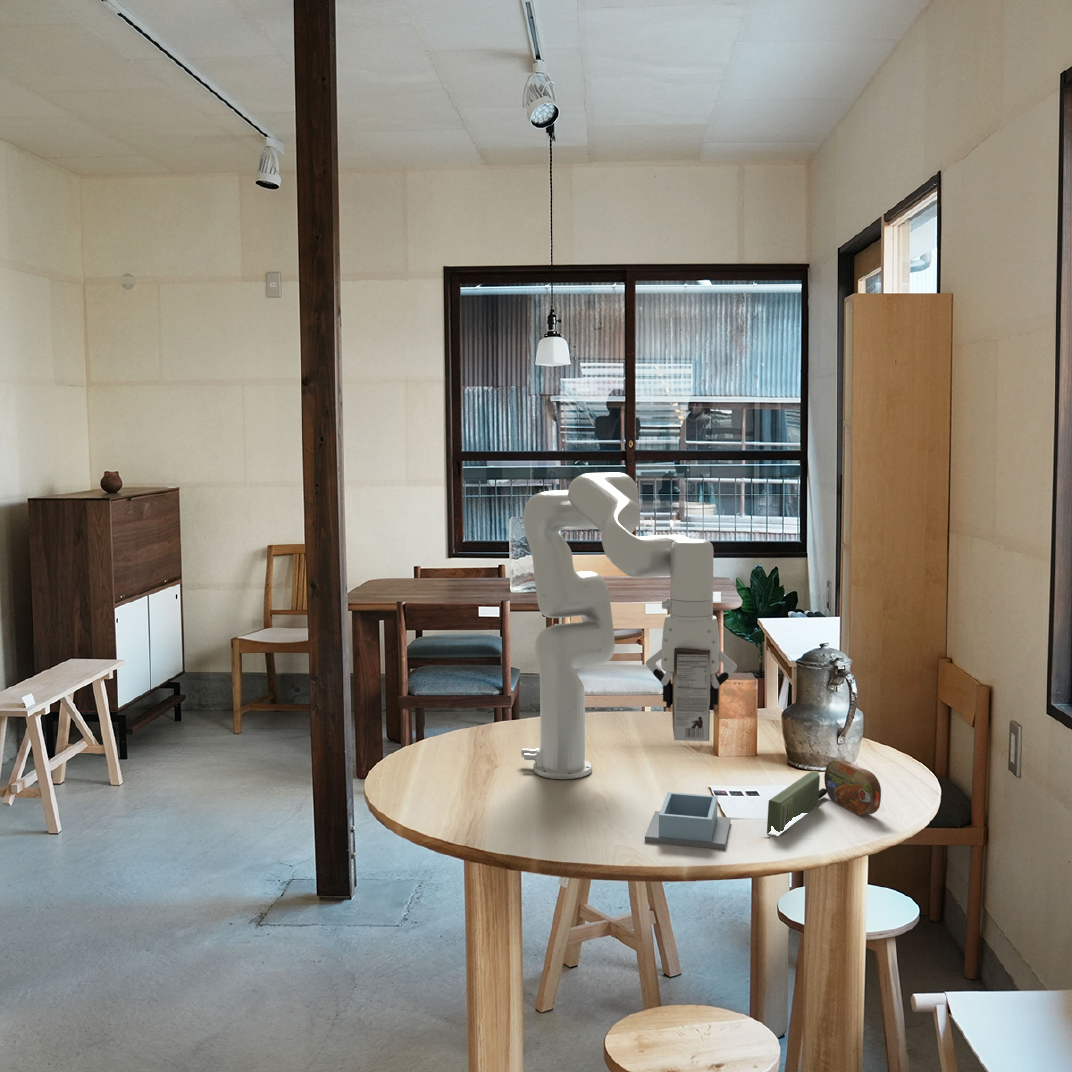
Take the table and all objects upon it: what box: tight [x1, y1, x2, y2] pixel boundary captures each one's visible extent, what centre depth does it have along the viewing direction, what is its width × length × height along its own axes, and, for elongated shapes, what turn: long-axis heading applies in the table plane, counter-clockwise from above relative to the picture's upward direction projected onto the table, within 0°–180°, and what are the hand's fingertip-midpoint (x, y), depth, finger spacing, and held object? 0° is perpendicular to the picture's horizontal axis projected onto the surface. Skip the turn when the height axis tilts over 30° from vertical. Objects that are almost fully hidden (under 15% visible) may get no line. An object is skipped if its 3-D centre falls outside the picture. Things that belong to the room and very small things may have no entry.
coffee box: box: [671, 648, 711, 742], centre depth 186 cm, size 9×6×16 cm
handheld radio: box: [766, 770, 828, 834], centre depth 197 cm, size 7×3×25 cm
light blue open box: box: [644, 791, 731, 851], centre depth 189 cm, size 14×13×5 cm
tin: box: [823, 759, 882, 816], centre depth 201 cm, size 15×3×8 cm, turn 18°
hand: (690, 706), depth 187 cm, fingers closed on coffee box, 7 cm apart
